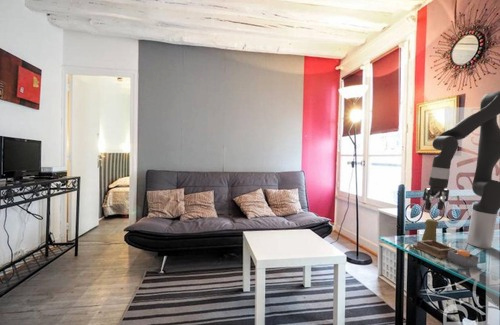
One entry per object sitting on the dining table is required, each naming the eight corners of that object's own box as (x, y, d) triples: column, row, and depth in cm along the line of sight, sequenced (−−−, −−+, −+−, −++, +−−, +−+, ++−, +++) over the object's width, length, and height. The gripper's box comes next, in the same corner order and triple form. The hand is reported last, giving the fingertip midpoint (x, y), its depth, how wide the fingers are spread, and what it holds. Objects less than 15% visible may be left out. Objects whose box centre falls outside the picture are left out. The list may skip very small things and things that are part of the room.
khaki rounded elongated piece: (438, 244, 127) (442, 222, 126) (424, 242, 128) (428, 220, 127) (432, 240, 132) (436, 218, 131) (419, 238, 134) (422, 217, 133)
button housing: (458, 258, 112) (459, 249, 111) (476, 266, 105) (478, 257, 105) (446, 259, 109) (448, 250, 109) (465, 268, 103) (467, 258, 102)
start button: (460, 256, 109) (461, 248, 109) (470, 261, 106) (472, 253, 105) (453, 257, 108) (455, 249, 108) (464, 262, 104) (465, 253, 104)
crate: (431, 245, 125) (432, 239, 125) (458, 256, 114) (459, 249, 113) (412, 246, 121) (413, 240, 121) (439, 258, 110) (440, 251, 109)
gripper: (441, 176, 133) (436, 207, 135) (421, 175, 128) (416, 207, 130) (457, 179, 126) (451, 211, 128) (436, 178, 121) (430, 212, 123)
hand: (433, 209), depth 129 cm, fingers open, 8 cm apart
